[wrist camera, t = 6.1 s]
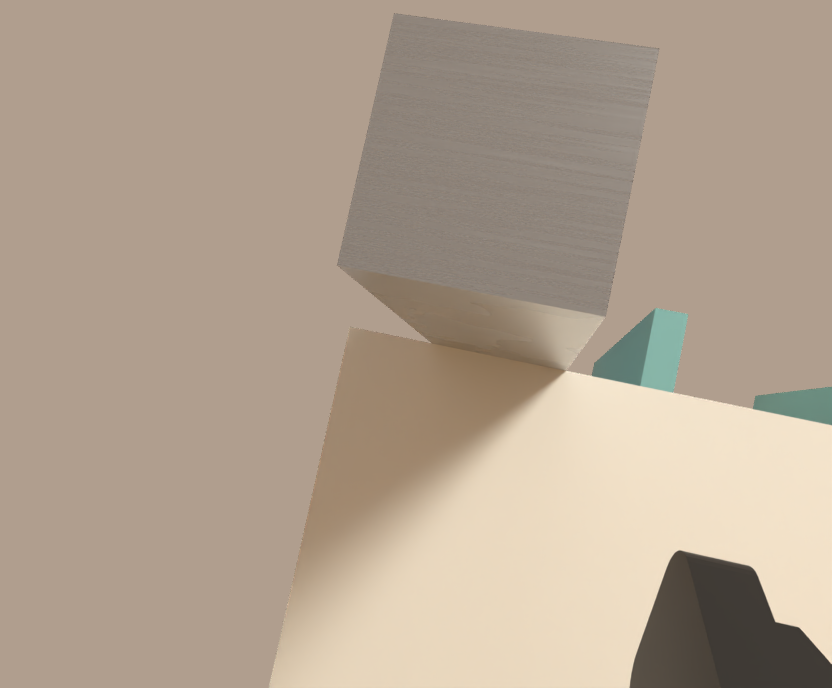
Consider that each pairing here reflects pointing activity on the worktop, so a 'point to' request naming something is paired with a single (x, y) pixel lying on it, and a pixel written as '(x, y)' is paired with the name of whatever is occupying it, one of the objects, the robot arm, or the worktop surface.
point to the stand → (534, 521)
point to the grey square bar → (497, 184)
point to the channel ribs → (659, 358)
